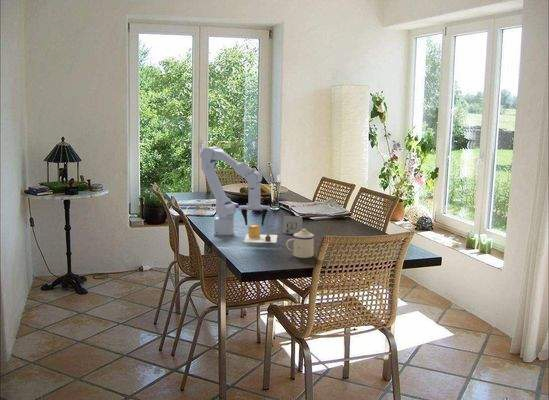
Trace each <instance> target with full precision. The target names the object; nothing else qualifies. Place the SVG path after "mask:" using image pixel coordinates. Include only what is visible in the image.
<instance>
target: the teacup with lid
mask: <svg viewBox="0 0 549 400" xmlns="http://www.w3.org/2000/svg"><path fill="white" fill-rule="evenodd" d="M292 237H293V238H290V239H287V241H286V243H285V244H286V247H287V249H288V250H289V251H292V252H293V254H292V255H293V256H294V257H295V258H299V259H309V258H313V257H314V251H315V250H314V249H315V247H314V245H315V242H314V241H315V235H314V234H313V233H311V232H309V231H307V228H302V231H300V232H298V233H295V234H293V236H292ZM289 242H293V248H290V246H289Z"/></svg>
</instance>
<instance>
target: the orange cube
mask: <svg viewBox="0 0 549 400" xmlns="http://www.w3.org/2000/svg"><path fill="white" fill-rule="evenodd" d="M260 226H261V225H259V224H251V225H249V226H248V234H249V237H252V238H257V237H260V235H261V227H260Z"/></svg>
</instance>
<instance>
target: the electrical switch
mask: <svg viewBox="0 0 549 400" xmlns="http://www.w3.org/2000/svg"><path fill="white" fill-rule="evenodd" d="M282 221H283V222H282V234H287V235H288V234H289V235H290V234H293V235H294V234H295V233H298V232H300V231H302V229H303V227H302V225H303V217H302V216H289V215H287V216H286V215H284V216H283V220H282Z"/></svg>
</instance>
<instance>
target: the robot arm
mask: <svg viewBox="0 0 549 400" xmlns="http://www.w3.org/2000/svg"><path fill="white" fill-rule="evenodd" d="M199 157H200V162H201V163H200V164H201V166H200V167H201V170H202V172H203V175H204V177H205V179H206V181H207V184H208V186H209V188H210V190H211V192H212V195H213V196H214V198H215V203H214V204H215V209H216V215H217V216H218V217H214V223H213V224H214V225H213V226H214V229H213V233H214V235H217V236H218V235H219V236H232V235H234V234H235V219H234V217H235V216H234V215H235V214H236V212H237V206H236V205H235V203H233V202H232V199H231V198H229V197H228V196H227V194H226V192H225V190H224V187H223V186H222V183H221V182H220V179H219V176H218V175H217V172H216V170H215V168H214V167H215V164H216V162H217V161H222V162H224V163H225V164H227V166H228V165H229V166H230V167H232V168H234V171H235V173H236V174H237V175H239V176H241V177H242V178H243V179H245V180H246V182H247V184H248V196H247V197H248V202H247V203H248V205H247V204H246V205H239V206H238V210H239V211H240V212H241V215H242V217H243V219H244V223H245V226H248V211H261V226H264V222H265V218H266V215H267V213H268V211H271V206H270V205H263V204H261V198H262V197H261V193H262V191H261V189H262V188H261V182H262V180H263V175H262V173H261V172H260V171H259V170H255V168H251V167H250V166H249V165H248V164H247V162H245V161H244V162H243V161H237V160H236V159H234V157H232V156H231V155H229V154H228V153H227V152H226V151H224V150H223V148H220V147H219V146H217V145H214V146H209V147H207V146H206V147H205V146H204V148H202V150H201V152H200V154H199Z"/></svg>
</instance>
